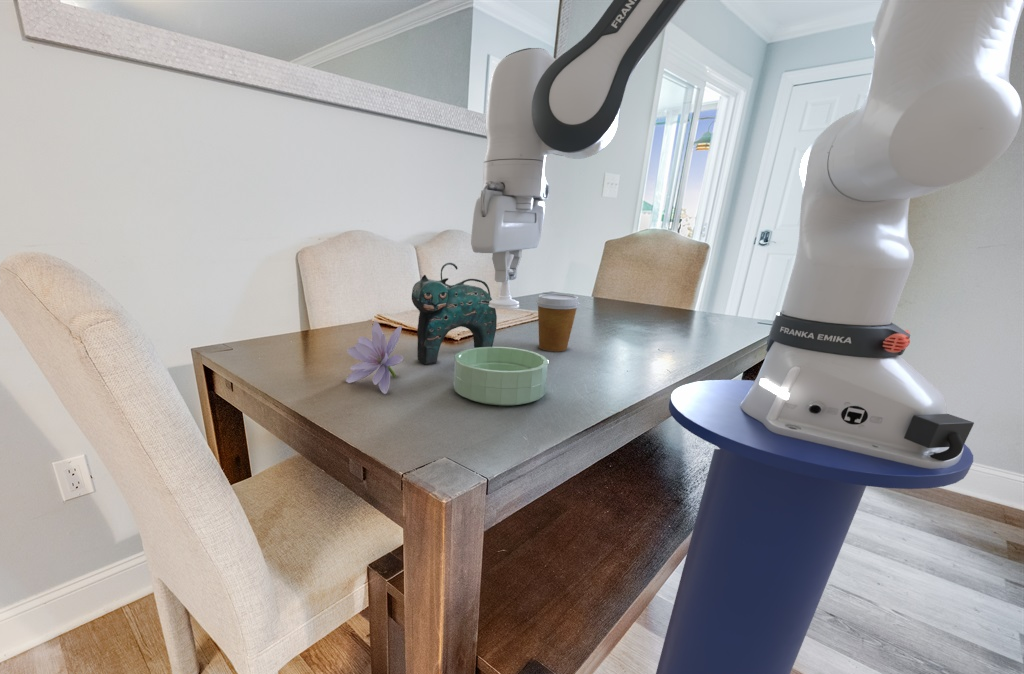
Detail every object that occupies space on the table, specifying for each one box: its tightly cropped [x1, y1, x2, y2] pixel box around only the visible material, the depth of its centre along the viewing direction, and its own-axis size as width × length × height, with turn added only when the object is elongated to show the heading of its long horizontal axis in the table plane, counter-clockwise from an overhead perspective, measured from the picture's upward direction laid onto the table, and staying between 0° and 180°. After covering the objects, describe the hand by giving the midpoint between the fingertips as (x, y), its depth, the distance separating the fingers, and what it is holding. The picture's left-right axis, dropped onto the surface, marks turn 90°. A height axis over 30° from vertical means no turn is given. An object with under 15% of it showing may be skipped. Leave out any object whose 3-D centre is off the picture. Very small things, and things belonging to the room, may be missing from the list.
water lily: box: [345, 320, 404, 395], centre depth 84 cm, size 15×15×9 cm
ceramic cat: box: [411, 262, 498, 366], centre depth 97 cm, size 20×6×20 cm, turn 119°
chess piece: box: [489, 253, 520, 310], centre depth 73 cm, size 5×5×10 cm
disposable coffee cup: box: [535, 293, 581, 352], centre depth 106 cm, size 10×10×12 cm
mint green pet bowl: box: [453, 346, 549, 407], centre depth 79 cm, size 16×16×6 cm
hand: (505, 280), depth 73 cm, fingers closed on chess piece
